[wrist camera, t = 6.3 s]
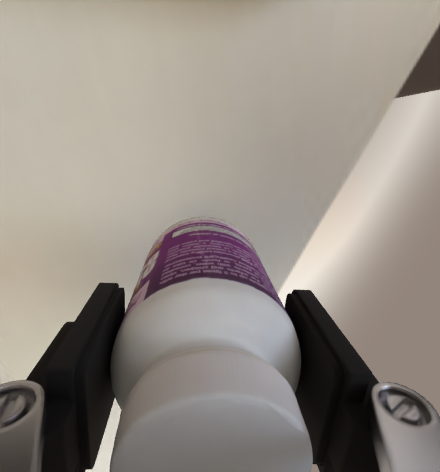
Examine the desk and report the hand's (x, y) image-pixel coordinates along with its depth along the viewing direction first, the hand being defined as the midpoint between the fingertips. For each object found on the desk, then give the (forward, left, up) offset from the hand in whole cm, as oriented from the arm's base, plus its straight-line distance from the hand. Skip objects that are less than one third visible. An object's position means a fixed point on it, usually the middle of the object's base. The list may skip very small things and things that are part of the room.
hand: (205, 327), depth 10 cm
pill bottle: (0, 0, -5) cm, 5 cm away
